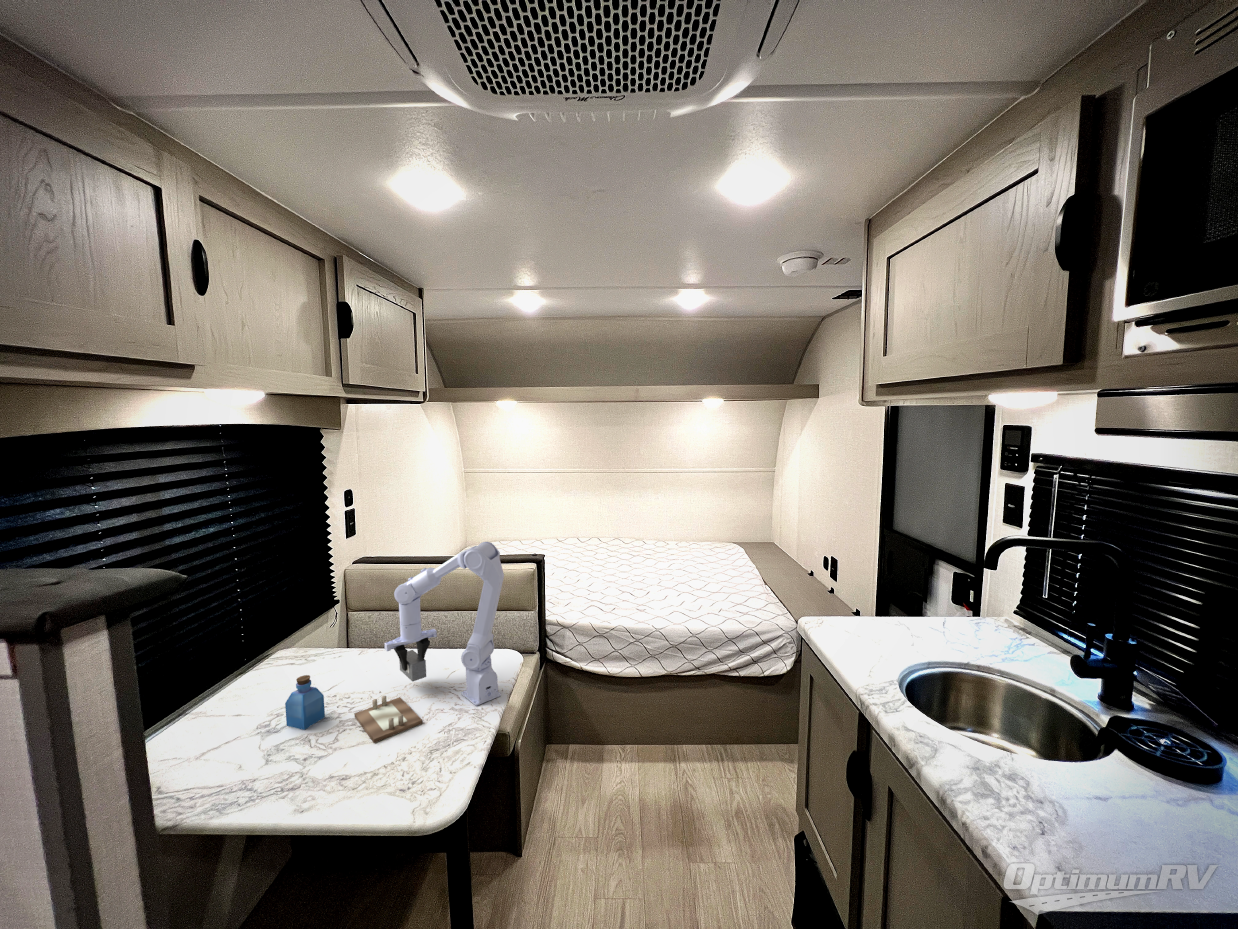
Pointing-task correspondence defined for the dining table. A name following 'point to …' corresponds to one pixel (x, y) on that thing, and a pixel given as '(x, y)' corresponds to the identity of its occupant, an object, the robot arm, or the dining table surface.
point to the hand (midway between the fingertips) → (412, 666)
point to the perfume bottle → (304, 705)
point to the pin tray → (387, 718)
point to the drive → (414, 666)
